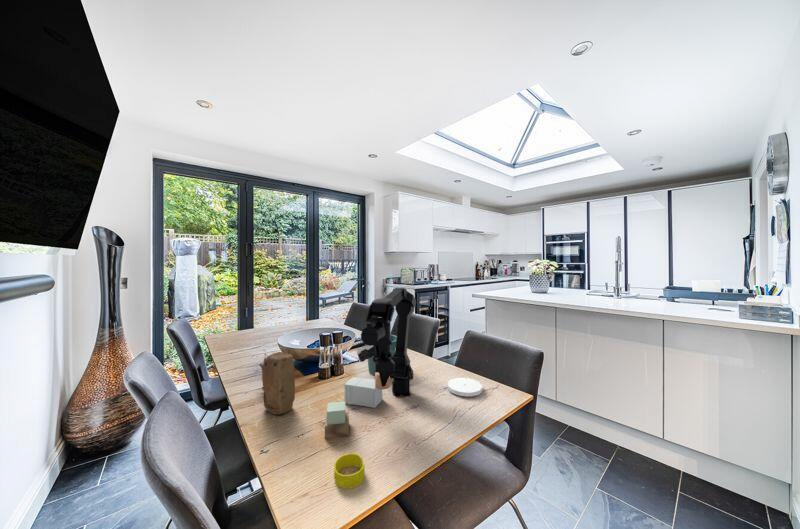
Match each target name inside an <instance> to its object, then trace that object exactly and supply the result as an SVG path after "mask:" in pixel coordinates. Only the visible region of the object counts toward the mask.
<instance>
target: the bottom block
mask: <svg viewBox="0 0 800 529" xmlns="http://www.w3.org/2000/svg"><path fill="white" fill-rule="evenodd" d="M349 415H350V414H349V411H345V423H340V424H330V425H327V415H326V417H325V418H326V419H325V423H324V439H325V440H326V439H335V438H337V439H338V438H344V437H345V438H347V437H349V430H350V429H349V428H350V422H349V421H350V416H349Z"/></svg>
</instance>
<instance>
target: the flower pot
mask: <svg viewBox="0 0 800 529" xmlns="http://www.w3.org/2000/svg"><path fill="white" fill-rule="evenodd" d="M396 338H397V335H394V334H391V344H392V345H391V354H392V356H393V355H394V354H395V350H396ZM364 346H367V345H366V344H364ZM390 358H391V357H390ZM367 367H368V368H367V369H368V372H369V374H370V375H372V376H375V368H374V361H373V357H371V358H369V359H367Z"/></svg>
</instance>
